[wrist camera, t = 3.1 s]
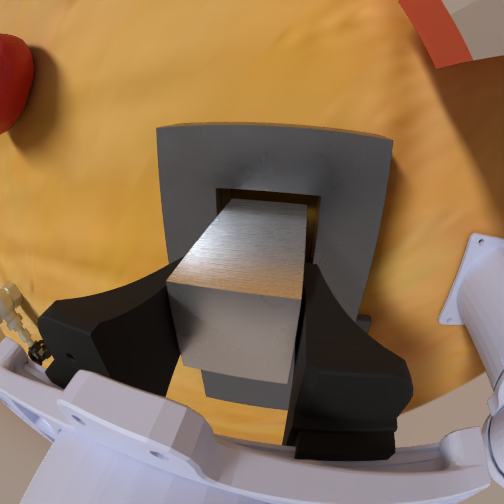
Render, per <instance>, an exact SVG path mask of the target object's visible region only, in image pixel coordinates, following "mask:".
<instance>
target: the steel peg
mask: <svg viewBox="0 0 504 504" xmlns="http://www.w3.org/2000/svg"><path fill="white" fill-rule="evenodd" d="M306 224H307V205H303V204H293V203H282V202H271V201H259V200H245V199H231V201H230V202H229V203H228V204H227V205H226V207H225V208H224V209H223V210H222V211H221V213H220V214H219V215H218V216H217V217H216V219H215V220H214V221H213V222H212V224H211V225H210V226H209V227H208V228H207V230H206V231H205V232H204V233H203V235H202V236H201V237H200V238H199V240H198V241H197V242H196V243H195V245H194V246H193V247H192V248H191V250H190V251H189V252H188V253H187V255H186V256H185V257H184V258H183V260H182V261H181V262H180V264H179V265H178V266H177V267H176V269H175V270H174V271H173V273H172V274H171V275H170V276H169V278H168V279H167V280H166V284H167V290H168V295H169V301H170V306H171V311H172V316H173V321H174V326H175V331H176V335H177V340H178V345H179V349H180V353H181V357H182V362H183V365H184V366H188V367H192V368H197V369H201V370H206V371H211V372H215V373H220V374H226V375H231V376H237V377H242V378H248V379H255V380H261V381H268V382H276V383H283V384H287V382H288V377H289V371H290V366H291V360H292V355H293V349H294V343H295V337H296V331H297V325H298V319H299V312H300V306H301V299H302V286H303V273H304V259H305V242H306Z"/></svg>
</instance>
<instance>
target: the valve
mask: <svg viewBox="0 0 504 504" xmlns="http://www.w3.org/2000/svg"><path fill="white" fill-rule="evenodd" d="M22 302H23V301H22V294H21V293H20V291H19V290H18V288H17V287H16V285H15V284H14V283H12V282H10V281H8V282H7V283H6V284H5V285H4V286H2V289H0V324H1V323H2V322H3V320H2V319H4V320H5V321H6V322H7V325H6V326H7V327H8V328H9V330H10V331H11V330H12V329H14V331H15V332H16V331H17V332H18V333H19V337H20V339H21V340H22V341H23V342H24V343H25V342H27V343H28V345H29V348H28V349H29V352H28V355H29V357H30V358H31V360H32V361H34V362H35V363H37V364H39V365H40V366H42V362H43V361H44V360H45V359H48V358H49V357H50V356H51V353H50V351H49V349H48V348H47V346H46V344H45V342H44V340H40V341H38V342H37V341H34V342H33V340H32V339H31V338H30V337H31V334H30V333H29V331H28V330H27V329H26V328H25V329H24V328H23V327H22V325H23V323H22V322H21V320H22V319H23V318H22V316H21V315H20V313H18V314H17V313H16V311H15V308H17V307H18V306H19V305H20V304H21V303H22ZM41 344H43V345H42V346H41ZM32 354H33V355H32Z"/></svg>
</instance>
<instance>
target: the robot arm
mask: <svg viewBox="0 0 504 504" xmlns="http://www.w3.org/2000/svg"><path fill="white" fill-rule="evenodd" d="M480 239H481V242H480V243H479V240H480ZM185 256H186V255H185ZM185 256H183V257H181V258H180V259H178V260H176V261H174V262H172V263H171V264H169V265H167V266H165V267H164V268H162V269H160V270H158V271H156V272H154V273H152V274H150V275H148V276H146V277H144V278H142V279H140V280H137V281H135V282H132V283H130V284H127V285H125V286H122V287H119V288H116V289H113V290H109V291H106V292H103V293H99V294H95V295H90V296H85V297H80V298H73V299H65V300H56V301H55V302H54V303H53V304H52V305H51V306H50V307H49V308H48V309H47V310H46V311H45V312H44V313H43V314H42V315H41V316H40V317H39V318H38V329H39V332H40V335H41V337H42V339H43V340H44V342H45V344H46V346H47V348H48V349H49V351H50V353H51V355H52V356H53V358H54V361H53V362H52V363H51V364H50V366H49V367H48V368H47V369H45V368H44V367H42V366H40V365H39V364H37V363H35V362H34V361H32V360H30V359H29V358H28V355H27V354H26V352H25V350H24V349H23V348H22V347H21V346H20V345H19V344H18V343H17V342H15V341H13V340H12V339H10V338H9V337H5V338H4V340H3V341H2V342H1V343H0V399H1V400H2V402H3V403H4V404H5V405H6V406H7V407H8V408H9V409H11V410H12V411H13V412H14V413H15V414H17V415H18V416H19V417H20V418H21V419H22V420H24V421H25V422H26V423H27V424H29V425H30V426H31V427H32V428H34V429H35V430H36V431H37V432H39V433H40V434H41V435H43V436H44V437H45V438H47V439H48V440H49V441H51V442H52V443H53V444H52V446H51V447H50V449H49V451H48V452H47V454H46V456H45V458H44V459H43V461H42V463H41V465H40V466H39V468H38V470H37V472H36V474H35V475H34V477H33V479H32V481H31V483H30V484H29V486H28V488H27V490H26V492H25V494H24V496H23V498H22V499H21V502H20V503H19V504H457V503H459V502H460V501H462V500H464V499H467V498H469V497H470V496H472V495H474V494H476V493H478V492H479V491H481V490H483V489H485V488H487V487H488V486H489V485H490V476H491V477H492V478H493V479H494V480H495V481H496V482H497V483H498V484H500V485H501V486H502V487H503V488H504V238H499V237H494V236H489V235H484V234H479V233H473V234H472V235H471V236H470V238H469V241H468V244H467V247H466V250H465V253H464V256H463V259H462V262H461V265H460V267H459V270H458V273H457V275H456V278H455V280H454V283H453V285H452V288H451V290H450V293H449V295H448V297H447V300H446V302H445V304H444V307H443V309H442V311H441V313H440V315H439V318H438V321H439V323H440V324H442V325H465V326H466V328H467V330H468V332H469V334H470V336H471V338H472V341H473V343H474V345H475V347H476V349H477V351H478V354H479V356H480V358H481V361H482V363H483V365H484V368H485V370H486V373H487V375H488V378H489V380H490V383H491V386H492V389H493V391H494V393H493V395H492V396H491V397H490V398H489V400H488V401H487V403H488V406H489V410H490V413H491V414H490V415H489V416H488V417H487V419H486V420H485V423H484V425H483V428H482V433H481V430H480V427H479V426H475V427H471V428H466V429H460V430H456V431H453V432H451V433H449V434H448V435H446V436H445V437H444V438H443V439H442V440H441V441H440V443H434V444H427V445H419V446H411V447H400V448H395V439H394V432H395V431H396V430H397V417H398V416H399V415H400V413H401V412H402V411H403V410H404V408H405V407H406V406H407V404H408V403H409V402H410V400H411V398H412V396H413V385H412V380H411V376H410V373H409V370H408V367H407V365H406V362H405V360H404V359H402V358H401V357H399V356H397V355H396V354H394V353H393V352H391V351H389V350H388V349H386V348H385V347H383V346H382V345H381V344H379V343H378V342H377V341H375V340H374V339H373V338H371V337H370V336H369V335H368V334H367V333H366V332H365V331H363V330H362V329H361V328H360V327H359V326H358V325H357V324H356V323H355V322H354V321H353V320H352V319H351V318H350V316H349V315H348V314H347V313H346V312H345V310H344V309H343V308H342V307H341V305H340V304H339V302H338V301H337V299H336V298H335V296H334V295H333V293H332V291H331V290H330V288H329V286H328V285H327V283H326V281H325V279H324V277H323V275H322V273H321V271H320V268H319V266H318V265H317V264H311V263H304V273H303V286H302V299H301V306H300V312H299V319H298V325H297V331H296V337H295V353H294V374H293V381H292V388H291V395H290V401H289V408H288V414H287V420H286V426H285V431H284V437H283V442H282V445H275V444H267V443H261V442H254V441H248V440H243V439H237V438H232V437H227V436H222V435H218V434H213V430H212V428H211V427H210V425H209V424H208V422H207V421H206V420H205V418H204V417H203V416H202V415H201V414H199V413H197V412H196V411H194V410H193V409H191V408H190V407H188V406H186V405H184V404H181V403H179V402H176V401H174V400H171V399H169V398H166V393H167V390H168V387H169V384H170V381H171V378H172V375H173V372H174V370H175V367H176V364H177V362H178V359H179V356H180V354H181V353H180V349H179V345H178V340H177V335H176V331H175V326H174V321H173V316H172V311H171V306H170V301H169V295H168V290H167V284H166V280H167V279H168V278H169V276H170V275H171V274H172V273H173V271H174V270H175V269H176V267H177V266H178V265H179V264H180V262H181V261H182V260H183V258H184V257H185ZM447 319H448V320H447ZM489 475H490V476H489Z"/></svg>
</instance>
